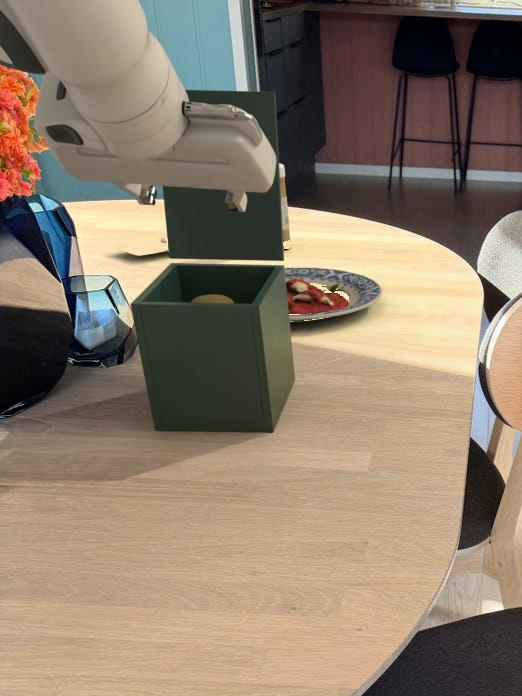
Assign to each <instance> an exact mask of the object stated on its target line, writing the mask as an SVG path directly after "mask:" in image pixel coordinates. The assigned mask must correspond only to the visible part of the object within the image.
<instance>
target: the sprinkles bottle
mask: <svg viewBox="0 0 522 696" xmlns="http://www.w3.org/2000/svg"><path fill="white" fill-rule="evenodd" d="M285 169H286V168H285V165H284V164H282V163H281V162H279V171H280V189H281V208H282V227H283V242H285V241H288V240H290V241H291V234H290V228H291V227H290V216H289V207H288V197H287V189H286V182H285V180H286V178H285V177H286V170H285Z"/></svg>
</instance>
